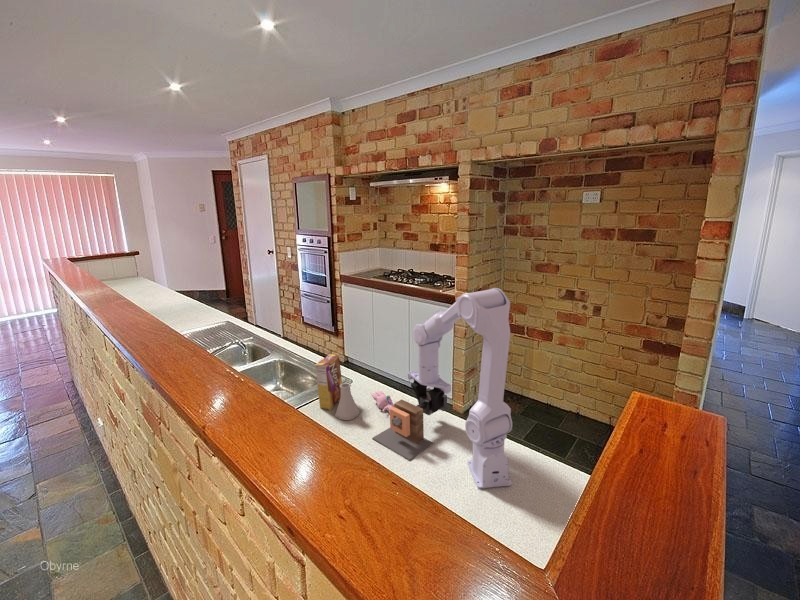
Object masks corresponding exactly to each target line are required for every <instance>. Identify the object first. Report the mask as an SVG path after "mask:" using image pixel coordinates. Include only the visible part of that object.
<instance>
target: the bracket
mask: <svg viewBox="0 0 800 600" xmlns="http://www.w3.org/2000/svg"><path fill="white" fill-rule="evenodd" d="M393 404H394V407H395V408H397V409H399V410H401V411H404V412H406V413H408V414H410V435H409V436H407V437H405V436H403V435H401V434H399V433H398V432H396V431H395V433H397V434H399V435H401V436H402V437H404V438H406V439H408V440H410V441H412V442H413V443H415V444H417V443H419V442H420V441H422V440H423V439H424V438H425V437H424V435H425V434H424V431H425V430H424V428H425V427H424V413H423V409H422V408H420V407H417V405H415V404H413V403H410V402H409V401H407V400H404V399H400V400H398V401H396V402H394V403H393ZM399 425H401V426H402V423H401V424H399Z"/></svg>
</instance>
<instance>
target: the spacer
mask: <svg viewBox="0 0 800 600" xmlns="http://www.w3.org/2000/svg"><path fill="white" fill-rule="evenodd" d="M396 417H398V418H400V419H402V426H401V425H397V426H394V425H393V424H392V419H394V418H396ZM389 426H390V427H389V428H390V429H392V430H394V431H396V432H398V433H399V434H401V435H403V436H405V437H407V436H409V435H410V414H408V413H406V412H404V411H401V410H399V409H397V408H395V407H392V408H390V414H389Z"/></svg>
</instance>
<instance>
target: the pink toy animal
mask: <svg viewBox="0 0 800 600" xmlns="http://www.w3.org/2000/svg"><path fill="white" fill-rule="evenodd" d="M370 396H371V397H372V399H373V400H374V401H375V402H376V404H377V407H378V408H379V409H382V412H383V413H384V412H385V410H387V411H388V413H389V415H390V408H392V407H394V403H393V401H392V398H391V395H389V394H387V395H386V394H385V393H384V392H383V391H381V390H377V391H374V392H371V393H370Z"/></svg>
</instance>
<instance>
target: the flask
mask: <svg viewBox="0 0 800 600" xmlns="http://www.w3.org/2000/svg"><path fill="white" fill-rule="evenodd" d="M351 386H352V384H351V383H349V382H344V383H343V382H342V384H341V385H340V388H341V398H340V401H339V403H338V406H337V409H336V412H335V415H334V416H335V418H337V419H339V420H342V421H351V420H353V419H355V418H357V417H358V416H359V414H360V410H359V408H358V406H357V403H356V402H355V399H354V398H353V395H352V391H351Z"/></svg>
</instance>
